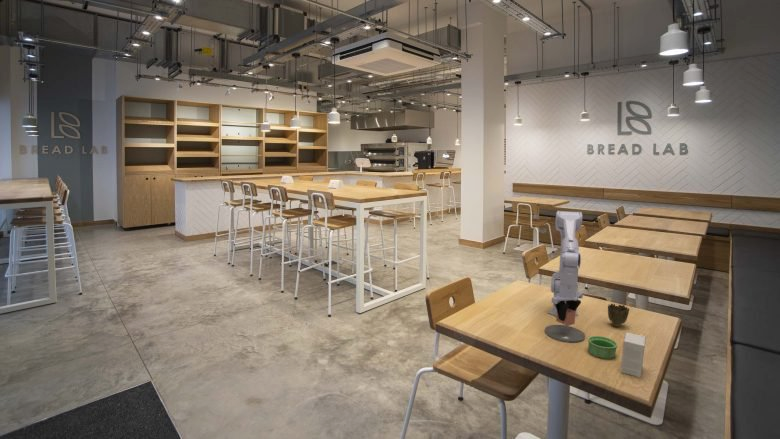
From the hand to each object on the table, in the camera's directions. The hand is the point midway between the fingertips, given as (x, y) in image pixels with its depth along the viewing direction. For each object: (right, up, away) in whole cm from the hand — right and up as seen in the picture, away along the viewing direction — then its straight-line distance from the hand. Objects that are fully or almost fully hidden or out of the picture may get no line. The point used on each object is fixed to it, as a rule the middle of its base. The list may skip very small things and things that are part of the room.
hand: (565, 318), depth 152 cm
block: (0, -1, 0) cm, 2 cm away
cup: (+24, -5, +9) cm, 26 cm away
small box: (+10, -10, -24) cm, 28 cm away
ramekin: (+6, -9, -13) cm, 17 cm away
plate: (0, -6, +1) cm, 6 cm away
